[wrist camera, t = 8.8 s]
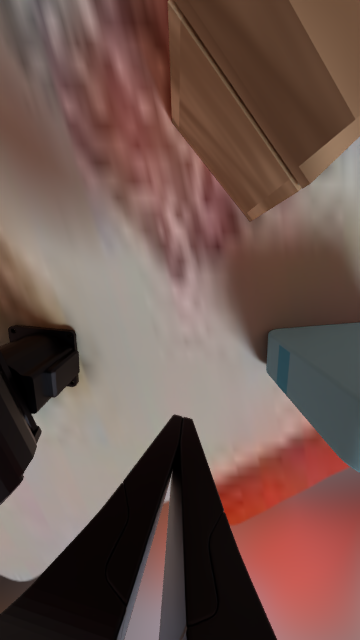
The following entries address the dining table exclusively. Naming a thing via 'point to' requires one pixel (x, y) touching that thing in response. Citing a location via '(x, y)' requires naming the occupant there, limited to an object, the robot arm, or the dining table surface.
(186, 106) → the brown wooden open box
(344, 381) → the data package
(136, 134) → the dining table surface
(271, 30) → the box lid
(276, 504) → the dining table surface
